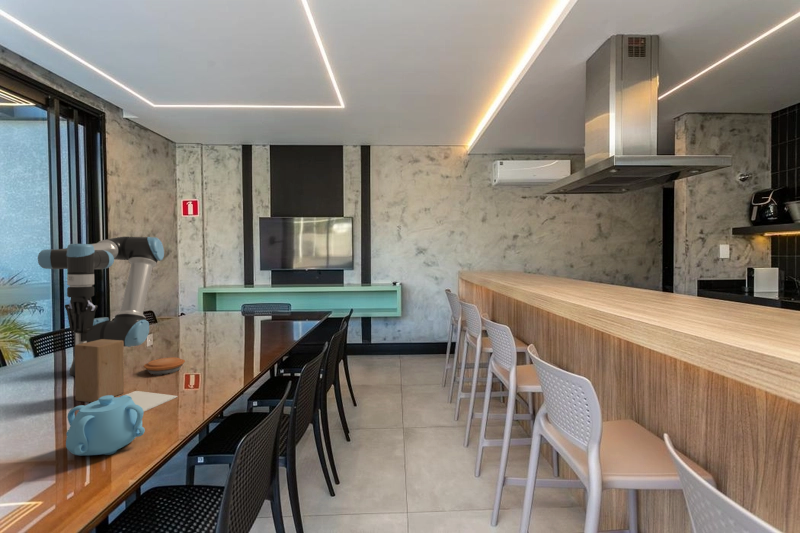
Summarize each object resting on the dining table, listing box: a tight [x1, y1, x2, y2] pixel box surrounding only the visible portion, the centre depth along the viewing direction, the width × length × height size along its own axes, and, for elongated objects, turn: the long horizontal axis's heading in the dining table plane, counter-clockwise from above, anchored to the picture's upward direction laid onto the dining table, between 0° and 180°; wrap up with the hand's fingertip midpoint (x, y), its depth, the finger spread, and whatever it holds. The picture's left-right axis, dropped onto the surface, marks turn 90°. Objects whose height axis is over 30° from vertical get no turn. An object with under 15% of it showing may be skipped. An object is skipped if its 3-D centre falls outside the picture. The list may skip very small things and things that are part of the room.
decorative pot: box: [65, 394, 146, 456], centre depth 100 cm, size 16×16×14 cm
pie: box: [143, 356, 186, 376], centre depth 165 cm, size 15×16×5 cm
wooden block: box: [74, 339, 125, 403], centre depth 134 cm, size 10×10×20 cm
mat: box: [125, 390, 178, 412], centre depth 130 cm, size 15×19×1 cm
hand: (81, 350), depth 135 cm, fingers closed
